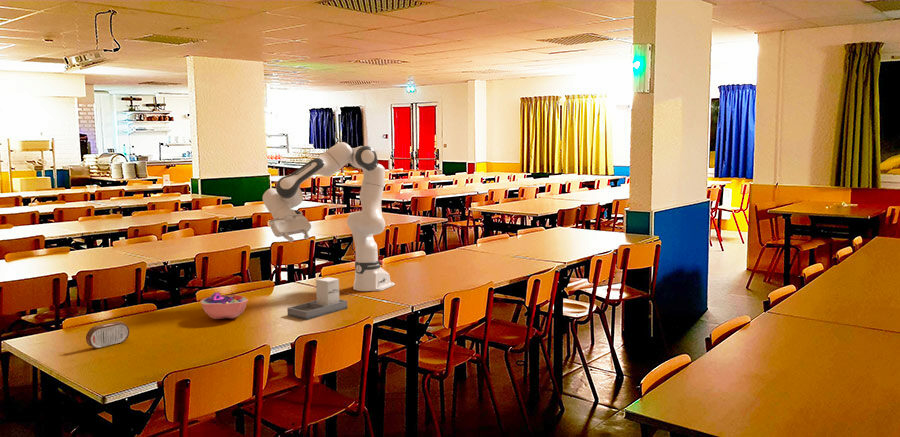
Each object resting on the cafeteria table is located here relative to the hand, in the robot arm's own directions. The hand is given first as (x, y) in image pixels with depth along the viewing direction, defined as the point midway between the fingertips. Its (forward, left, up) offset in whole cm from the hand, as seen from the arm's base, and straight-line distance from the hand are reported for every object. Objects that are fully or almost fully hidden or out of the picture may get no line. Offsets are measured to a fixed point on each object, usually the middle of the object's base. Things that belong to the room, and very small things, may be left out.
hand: (299, 239), depth 313 cm
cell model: (+39, -4, -29) cm, 49 cm away
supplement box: (+3, +21, -28) cm, 35 cm away
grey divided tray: (+9, +21, -29) cm, 37 cm away
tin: (+87, -7, -29) cm, 92 cm away
